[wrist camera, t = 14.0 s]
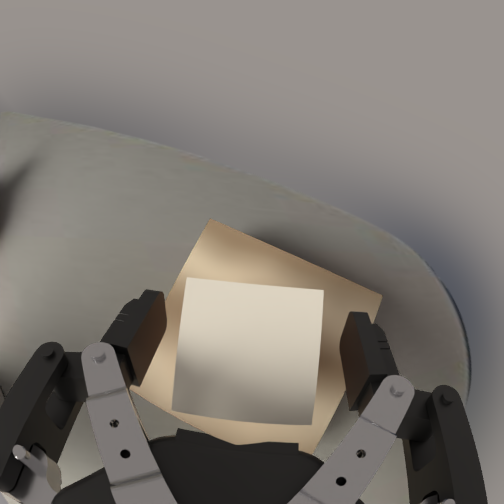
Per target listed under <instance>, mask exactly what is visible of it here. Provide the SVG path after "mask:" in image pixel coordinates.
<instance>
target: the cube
mask: <svg viewBox="0 0 504 504" xmlns="http://www.w3.org/2000/svg"><path fill="white" fill-rule="evenodd" d="M323 296H324V290H317V289H304V288H292V287H280V286H269V285H258V284H247V283H237V282H227V281H217V280H208V279H199V278H190V277H187V279H186V286H185V292H184V299H183V307H182V314H181V322H180V329H179V338H178V346H177V355H176V364H175V374H174V385H173V396H172V408H171V411H175V412H181V413H186V414H191V415H197V416H203V417H210V418H217V419H224V420H232V421H242V422H252V423H264V424H281V425H312V419H313V411H314V403H315V395H316V386H317V376H318V366H319V355H320V343H321V330H322V314H323Z"/></svg>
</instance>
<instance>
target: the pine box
mask: <svg viewBox="0 0 504 504" xmlns="http://www.w3.org/2000/svg"><path fill="white" fill-rule="evenodd" d="M187 277H190V278H199V279H208V280H217V281H227V282H237V283H247V284H258V285H269V286H280V287H292V288H304V289H317V290H324V296H323V314H322V330H321V343H320V355H319V366H318V376H317V386H316V395H315V403H314V411H313V419H312V425H281V424H264V423H252V422H242V421H232V420H224V419H217V418H210V417H203V416H197V415H191V414H186V413H181V412H175V411H171V408H172V396H173V385H174V374H175V364H176V355H177V346H178V338H179V329H180V322H181V314H182V307H183V299H184V292H185V286H186V279H187ZM382 297H383V296H382V295H380V294H378V293H376V292H374V291H372V290H369V289H367V288H365V287H363V286H361V285H358V284H356V283H354V282H352V281H350V280H348V279H345V278H343V277H341V276H339V275H336V274H334V273H332V272H330V271H328V270H325V269H323V268H321V267H319V266H317V265H314V264H312V263H310V262H308V261H305V260H303V259H301V258H299V257H296V256H294V255H292V254H290V253H287V252H285V251H283V250H281V249H278V248H276V247H274V246H272V245H269V244H267V243H265V242H263V241H260V240H258V239H256V238H254V237H251V236H249V235H247V234H244V233H242V232H240V231H238V230H235V229H233V228H231V227H228V226H226V225H224V224H222V223H219V222H217V221H215V220H212V219H210V220H209V221H208V223H207V225H206V227H205V229H204V230H203V232H202V234H201V236H200V237H199V239H198V241H197V243H196V245H195V246H194V248H193V250H192V252H191V254H190V255H189V257H188V259H187V261H186V263H185V265H184V266H183V268H182V270H181V272H180V274H179V276H178V278H177V280H176V281H175V283H174V285H173V287H172V289H171V291H170V293H169V295H168V297H167V299H166V301H165V308H166V315H167V327H166V331H165V334H164V336H163V338H162V340H161V342H160V344H159V346H158V349H157V351H156V353H155V355H154V357H153V359H152V362H151V364H150V366H149V368H148V370H147V373H146V375H145V377H144V379H143V382H142V384H141V386H140V387H137V386H134V385H131V386H130V388H129V389H130V390H132V391H133V392H135V393H136V394H138V395H139V396H141V397H143V398H144V399H146V400H147V401H149V402H151V403H152V404H154V405H156V406H157V407H159V408H161V409H163V410H164V411H166V412H168V413H169V414H171V415H173V416H175V417H177V418H178V419H180V420H182V421H184V422H186V423H188V424H190V425H192V426H194V427H196V428H198V429H200V430H202V431H204V432H206V433H208V434H210V435H212V436H214V437H216V438H219V439H221V440H224V441H227V442H229V443H232V444H235V445H243V444H253V443H261V442H268V441H270V442H288V443H299V451H303V452H306V453H309V454H311V455H312V453H313V452H314V450H315V448H316V446H317V445H318V443H319V441H320V439H321V437H322V436H323V434H324V432H325V430H326V428H327V426H328V424H329V423H330V421H331V419H332V417H333V415H334V413H335V411H336V409H337V407H338V405H339V403H340V401H341V399H342V397H343V395H344V392H345V390H346V385H345V379H344V373H343V368H342V362H341V356H340V351H339V344H340V338H341V335H342V332H343V329H344V326H345V323H346V320H347V317H348V314H349V312H350V311H355V312H367V313H368V315H369V318H370V321H371V323H372V324H373V323H374V320H375V317H376V315H377V312H378V309H379V306H380V303H381V300H382Z"/></svg>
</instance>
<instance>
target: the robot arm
mask: <svg viewBox="0 0 504 504" xmlns="http://www.w3.org/2000/svg"><path fill="white" fill-rule="evenodd" d="M166 327H167V315H166V308H165V300H164V294H163V292H160V291H154V290H147V289H146V290H145V291H144V292H143V294H142V295H141V297H140V298H139V300H138V299H133V300H131V301H130V302H128V303H127V304H126V305H125V306H124V307H123V309H122V310H121V311H120V314H118V316H117V317H116V319H115V320H114V322H113V323H112V324H111V326H110V327H109V329H108V330H107V332H106V333H105V335H104V336H103V338H102V339H101V341H100V342H97V343H93V344H91V345H89V346H87V347H86V348H85V349H84V350H83V352H65V351H64V349H63V347H62V346H61V345H60V344H59V343H56V342H48V343H45V344H43V345H41V346H40V347H39V348H38V349H37V350H36V352H35V353H34V354H33V356H32V357H31V359H30V360H29V362H28V363H27V365H26V366H25V368H24V369H23V371H22V372H21V374H20V376H19V377H18V379H17V380H16V382H15V383H14V385H13V387H12V388H11V390H10V392H9V393H8V395H7V397H6V398H5V399H4V396H3V393H2V391H1V388H0V492H2V493H4V494H5V495H7V496H9V497H10V498H12V499H14V500H16V501H17V502H19V503H21V504H364V503H363V502H362V501H361V500H360V499H359V497H360V496H361V494H362V493H363V491H364V490H365V489H366V487H367V486H368V484H369V483H370V481H371V480H372V478H373V477H374V475H375V473H376V472H377V470H378V469H379V467H380V465H381V464H382V462H383V460H384V459H385V457H386V455H387V454H388V452H389V450H390V448H391V447H392V445H393V443H394V441H395V439H396V438H401V439H402V441H403V447H404V454H405V461H406V469H407V478H408V488H409V499H410V504H488V503H487V496H486V491H485V485H484V480H483V475H482V470H481V466H480V462H479V458H478V454H477V450H476V446H475V442H474V439H473V435H472V432H471V429H470V425H469V422H468V419H467V416H466V413H465V410H464V407H463V404H462V401H461V398H460V396H459V394H458V392H457V391H456V390H455V389H453V388H452V387H450V386H447V385H440V386H438V387H436V388H435V389H434V391H433V392H432V393H429V392H424V391H420V390H415V389H414V387H413V385H412V384H411V382H410V381H409V380H408V379H406V378H404V377H402V376H399V373H398V370H397V367H396V364H395V361H394V358H393V355H392V352H391V350H390V347H389V344H388V343H387V339H386V336H385V333H384V332H383V330H382V329H381V328H380V327H379V326H378V325H377V324H372V323H371V321H370V318H369V315H368V313H367V312H355V311H350V312H349V314H348V317H347V320H346V323H345V326H344V329H343V332H342V335H341V338H340V344H339V351H340V356H341V362H342V368H343V373H344V379H345V385H346V392H347V398H348V405H349V411H354V410H358V412H359V418H358V420H357V421H356V423H355V424H354V425H353V427H352V428H351V430H350V431H349V432H348V434H347V435H346V436H345V438H344V439H343V440H342V442H341V443H340V444H339V446H338V447H337V448H336V450H335V451H334V452H333V453H332V455H331V456H330V457H329V458H328V460H327V461H326V462H325V463H324V462H323V461H321V460H320V459H318V458H317V457H315V456H313V455H311V454H309V453H306V452H303V451H299V443H288V442H270V441H268V442H261V443H253V444H243V445H235V444H232V443H229V442H227V441H224V440H221V439H219V438H216V437H214V436H211V435H209V434H205V433H199V432H194V431H189V430H184V429H179V428H178V430H177V433H176V435H171V436H164V437H159V438H156V439H153V440H149V437H148V435H147V433H146V431H145V429H144V426H143V424H142V422H141V419H140V417H139V414H138V412H137V409H136V407H135V404H134V401H133V399H132V396H131V393H130V391H129V388H130V386H131V385H134V386H137V387H140V386H141V384H142V382H143V379H144V377H145V375H146V373H147V370H148V368H149V366H150V364H151V362H152V359H153V357H154V355H155V353H156V351H157V349H158V346H159V344H160V342H161V340H162V338H163V336H164V334H165V331H166ZM52 391H53V392H52ZM51 393H52V394H51ZM50 395H51V396H50ZM83 402H86V404H87V408H88V412H89V416H90V420H91V424H92V428H93V432H94V435H95V439H96V442H97V445H98V449H99V452H100V455H101V458H102V461H103V464H104V467H103V468H102V469H100V470H98V471H96V472H94V473H92V474H91V475H89V476H87V477H85V478H83V479H81V480H79V481H77V482H75V483H73V484H71V485H69V486H67V487H65V488H63V489H62V490H61V486H60V485H61V484H62V480H61V471H60V468H59V466H58V465H57V463H58V460H59V458H60V455H61V453H62V450H63V448H64V445H65V443H66V440H67V438H68V436H69V433H70V431H71V429H72V426H73V424H74V422H75V420H76V417H77V415H78V413H79V411H80V408H81V406H82V404H83Z"/></svg>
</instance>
